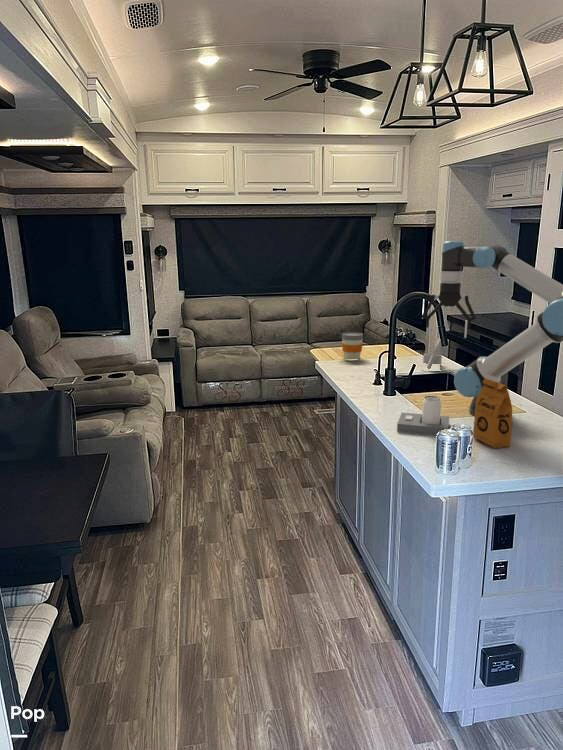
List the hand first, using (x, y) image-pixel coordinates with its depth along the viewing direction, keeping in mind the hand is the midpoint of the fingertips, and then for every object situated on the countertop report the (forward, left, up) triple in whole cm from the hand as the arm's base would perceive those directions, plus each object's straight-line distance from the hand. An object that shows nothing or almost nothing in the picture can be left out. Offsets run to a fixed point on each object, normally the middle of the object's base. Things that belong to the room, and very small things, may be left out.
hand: (447, 336), depth 219 cm
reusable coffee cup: (+55, -89, -32) cm, 109 cm away
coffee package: (-18, +29, -32) cm, 47 cm away
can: (+3, +20, -32) cm, 38 cm away
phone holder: (+9, -79, -32) cm, 86 cm away
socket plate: (+6, +20, -32) cm, 38 cm away
